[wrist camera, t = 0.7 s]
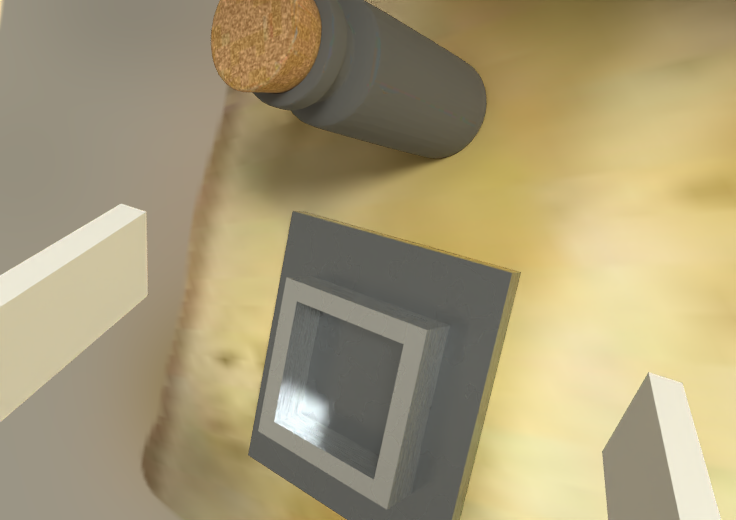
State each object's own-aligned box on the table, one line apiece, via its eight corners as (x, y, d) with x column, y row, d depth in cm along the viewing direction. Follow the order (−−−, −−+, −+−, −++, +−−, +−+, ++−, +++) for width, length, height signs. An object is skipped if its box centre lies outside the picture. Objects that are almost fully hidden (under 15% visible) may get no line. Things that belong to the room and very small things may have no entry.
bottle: (410, 55, 35) (212, -51, 23) (499, 61, 32) (322, -59, 20) (390, 151, 36) (189, 98, 24) (474, 166, 33) (291, 114, 21)
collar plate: (304, 212, 40) (266, 208, 37) (520, 272, 31) (492, 274, 28) (260, 450, 43) (220, 465, 40) (447, 569, 34) (414, 599, 31)
